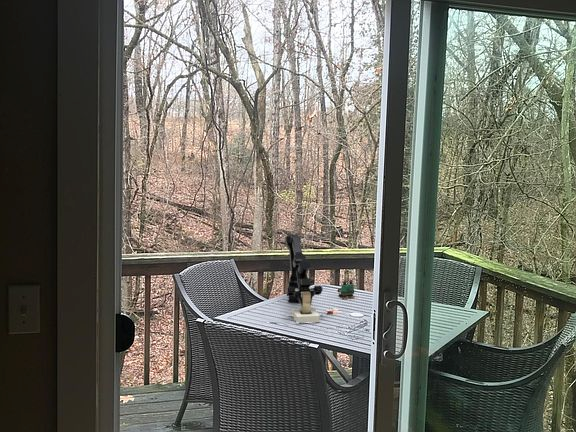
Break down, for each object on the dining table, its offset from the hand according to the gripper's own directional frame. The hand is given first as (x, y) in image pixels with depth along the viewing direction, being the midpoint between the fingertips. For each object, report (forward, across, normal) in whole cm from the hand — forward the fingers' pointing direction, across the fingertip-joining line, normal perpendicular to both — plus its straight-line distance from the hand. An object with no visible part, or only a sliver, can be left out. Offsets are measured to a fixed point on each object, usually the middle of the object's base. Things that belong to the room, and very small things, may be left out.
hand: (306, 305), depth 321 cm
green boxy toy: (-18, +31, +31) cm, 47 cm away
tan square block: (+4, 0, +6) cm, 7 cm away
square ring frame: (+5, 0, +7) cm, 8 cm away
